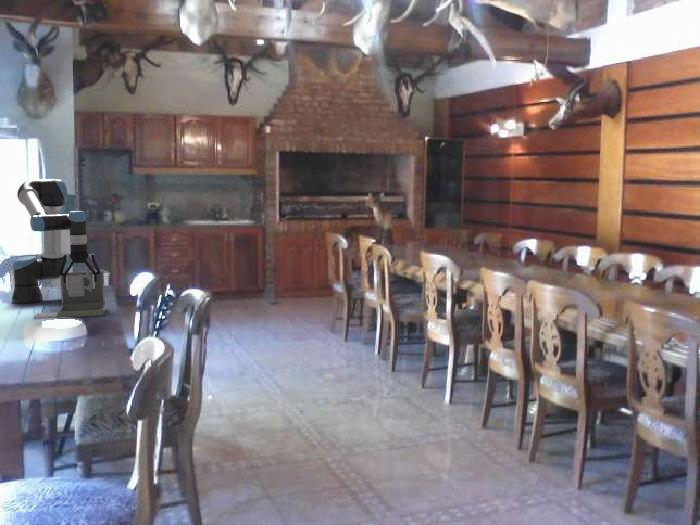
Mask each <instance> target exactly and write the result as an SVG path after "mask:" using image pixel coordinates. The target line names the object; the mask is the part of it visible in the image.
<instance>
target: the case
mask: <svg viewBox="0 0 700 525" xmlns="http://www.w3.org/2000/svg"><path fill="white" fill-rule="evenodd" d="M95 271H96V272H97V270H95ZM100 271H101V272H100V274H97V281H96V282H95V289H92V291H91V292H89V291H88V290H86V289H84V290H85V293H84V296H79V297H70V296H69V294H68V291H69V290H67V288H66V283H64V278H63V276H62V275H60V279H59V280H60V292H61V294H60V295H61V297H60V298H61V306H60V308H59V310H57V312H58V316H57V318H58V317H75V318H87V317H88V318H89V317H91V318H92V317H104V314H105V311H106V296H105V279H104V278H105V276H104V270H100ZM86 272H87V271H73V272H68V273H67V275H66V276H68V277H69V275H72V274H82V275H86ZM89 273H90V275H91V278H92V275H94V274H93V273H92V272H91V271H89ZM83 280H84V283H83V285H84V286H87V287H88V286H89V280H88V279H87V277H86V278H83ZM68 281H69V278H68Z"/></svg>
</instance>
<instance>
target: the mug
mask: <svg viewBox="0 0 700 525" xmlns="http://www.w3.org/2000/svg"><path fill="white" fill-rule="evenodd" d="M85 272H86V275H82V274H72V275H69V277H68V278H69V281H68V284H69V291H68V294H69V296H70V297H79V296H84V293H85V290H84V289H86V290H88V291H89V292H91V291H92V289H93V280H92V278H91V275H90V273H89V272H90V269H87V271H85ZM86 277H87V279H88V280H89V286H88V287H87V286H84V285H83V283H84V280H83V278H86Z"/></svg>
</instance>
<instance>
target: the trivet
mask: <svg viewBox="0 0 700 525" xmlns="http://www.w3.org/2000/svg"><path fill="white" fill-rule="evenodd" d="M50 317H54V318H58V311H57V312H39V313H36V314H35V315H34V316H33V319H50Z"/></svg>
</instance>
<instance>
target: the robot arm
mask: <svg viewBox="0 0 700 525" xmlns="http://www.w3.org/2000/svg"><path fill="white" fill-rule="evenodd" d="M16 195H17V199H18V201H19V202H20V204H22V205H23V206H24V207H25V209H26V211H27V212H28V213H29V215H30V219H29V223H30V228H31V230H32V231H33V232H43V252H42V253H41V254H40V255H41V256H40V258H38V257H37V256H36V255H33V256H30V255H29V256H23V257H20V258H16V259H15V260H13V262H12V263H13V264H12V267H13V268H12V270H13V271H12V272H13V283H14V289H13V292H12V296H11V303H12V304H33V303H38V302H43V301H44V295H43V294H42V293H43V292H42V290H41V288H40V286H39V282H40V281H49V280H50V281H51V280H58V279H59V280H60V275H62V276H63V278H64V283H66V288H67V290H69V284H68V276H66V275H67V273H68V272H69V271H70V270H71V268H72V267H73V266H74V264H85V265H86V267H87V268H88V270H89V271H90V272H92V273H93V274H94V275H92V280H93V289H95V282H96V281H97V274H100V272H101V271H102V270H100V268H99V265H98V263H97V260H96V256H95V253H91V254H89V253H88V243H87V242H88V237H87V236H88V235H87V216H86V212H85V211H83V210H70V211H68V213H66V214H65V213H63V214H62V208H63V207H64V206H65V202H67V201H68V199H69V195H68V188H67V185H66V183H65V182H64V180H62V179H57V178H47V179H46V178H44V179H42V178H41V179H36V178H35V179H30V180H26V181H24V182H23V183H22V184H21V185H20V186H19V188H18V190H17V194H16ZM62 231H69V243H70V244H69V245H70V246H69V247H70V249H69V250H70V254H65V253H64V252H62ZM69 258H70V259H71V260H72V261H71V262H70V264H69ZM88 258H90V259H91V261H92V264H93V265H94V268H93V266H92V265H91V264H90V262H89V261H88ZM96 271H97V272H96Z"/></svg>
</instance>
